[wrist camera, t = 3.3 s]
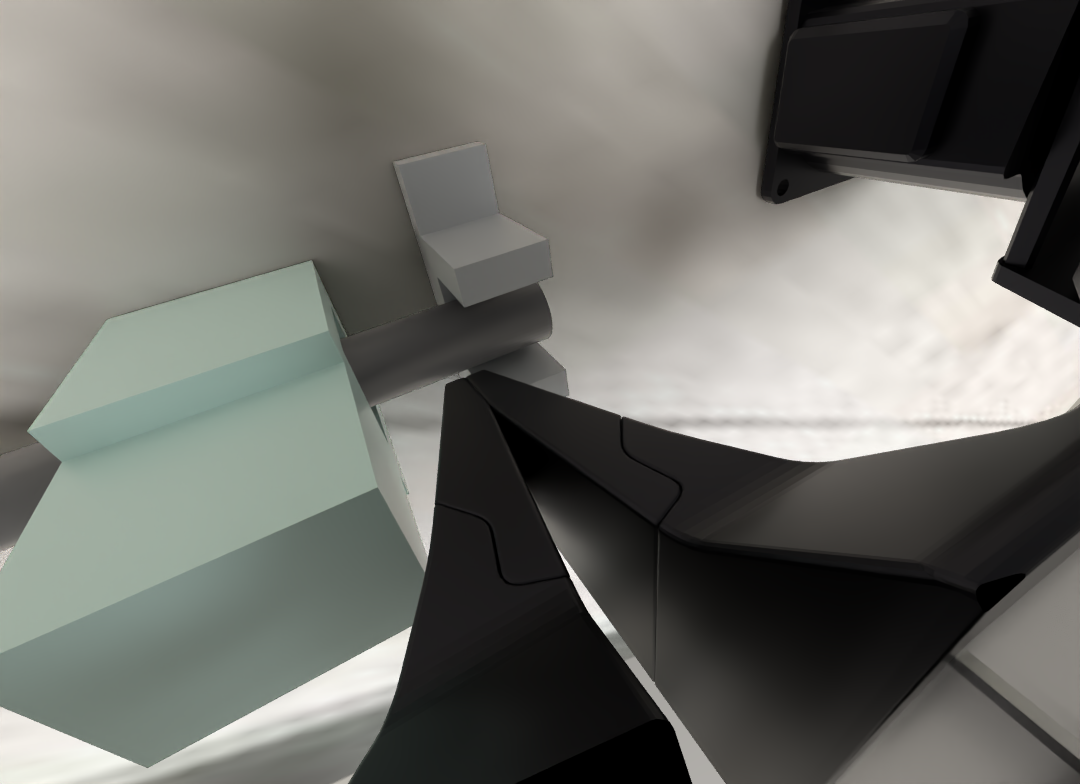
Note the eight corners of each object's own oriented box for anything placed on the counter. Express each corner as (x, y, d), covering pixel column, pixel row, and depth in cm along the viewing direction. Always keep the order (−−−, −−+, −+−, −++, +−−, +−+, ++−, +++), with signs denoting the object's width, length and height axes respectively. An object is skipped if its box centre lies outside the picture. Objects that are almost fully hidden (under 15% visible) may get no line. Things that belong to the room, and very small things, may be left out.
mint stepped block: (311, 260, 10) (356, 449, 5) (376, 398, 13) (454, 627, 7) (106, 319, 9) (-132, 651, 4) (220, 457, 11) (177, 780, 6)
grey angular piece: (476, 141, 11) (570, 165, 7) (525, 381, 15) (598, 465, 11) (-952, 487, 5) (-2841, 1100, 2) (-250, 702, 10) (-517, 1016, 6)
